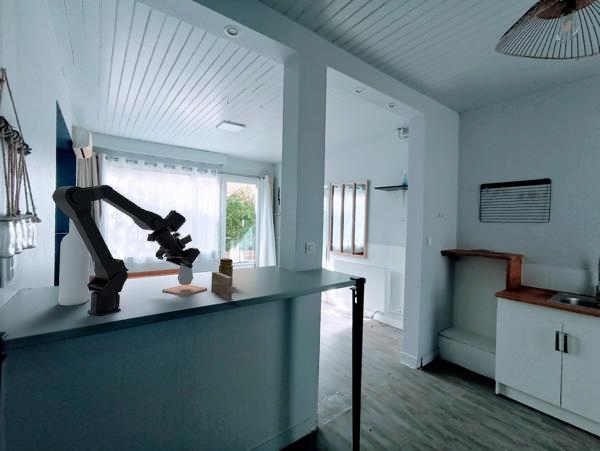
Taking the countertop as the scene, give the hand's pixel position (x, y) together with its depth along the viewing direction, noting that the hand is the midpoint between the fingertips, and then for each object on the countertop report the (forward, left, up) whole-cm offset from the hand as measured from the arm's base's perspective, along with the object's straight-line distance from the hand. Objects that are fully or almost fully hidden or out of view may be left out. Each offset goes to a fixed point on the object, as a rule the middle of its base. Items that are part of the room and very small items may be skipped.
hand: (188, 267), depth 115 cm
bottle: (-33, +15, -10) cm, 38 cm away
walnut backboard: (+3, -15, -9) cm, 18 cm away
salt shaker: (-1, 0, -7) cm, 7 cm away
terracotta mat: (-1, 0, -9) cm, 10 cm away
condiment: (+15, -6, -10) cm, 19 cm away
